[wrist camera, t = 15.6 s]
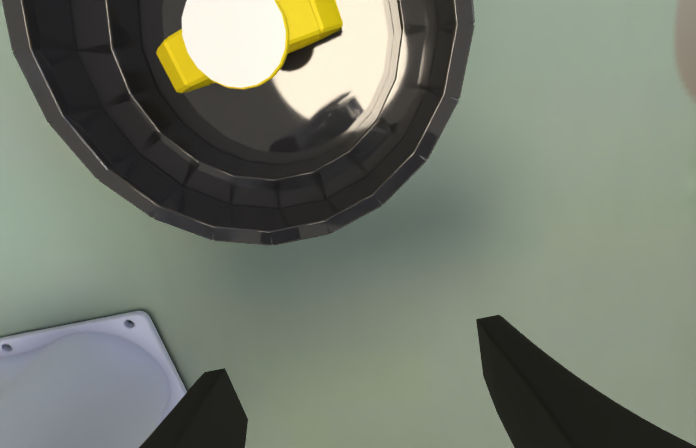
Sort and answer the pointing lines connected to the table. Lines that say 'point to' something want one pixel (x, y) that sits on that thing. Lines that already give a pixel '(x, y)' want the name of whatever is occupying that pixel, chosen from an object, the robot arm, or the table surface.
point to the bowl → (247, 112)
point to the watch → (242, 40)
